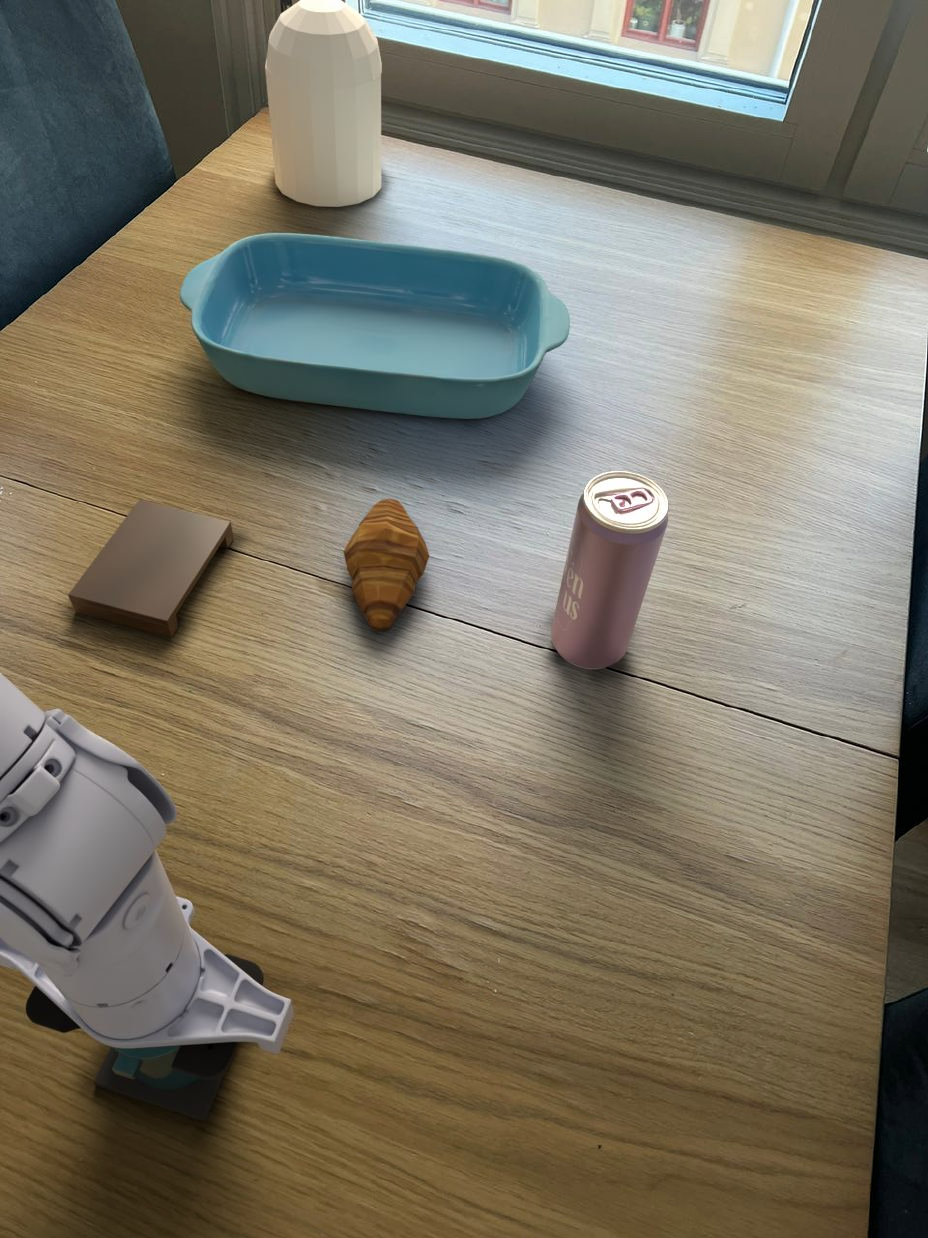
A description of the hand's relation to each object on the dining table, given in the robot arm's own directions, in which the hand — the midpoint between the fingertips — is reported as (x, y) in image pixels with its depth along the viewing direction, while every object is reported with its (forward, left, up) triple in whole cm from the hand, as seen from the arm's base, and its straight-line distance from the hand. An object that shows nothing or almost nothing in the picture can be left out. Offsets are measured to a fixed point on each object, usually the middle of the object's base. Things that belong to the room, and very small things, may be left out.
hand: (172, 1034), depth 50 cm
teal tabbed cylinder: (0, 0, -1) cm, 1 cm away
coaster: (0, 0, -2) cm, 2 cm away
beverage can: (+17, +35, -2) cm, 39 cm away
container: (-28, +98, -2) cm, 102 cm away
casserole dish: (-10, +64, -2) cm, 65 cm away
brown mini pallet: (-17, +31, -2) cm, 36 cm away
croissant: (0, +37, -2) cm, 37 cm away
